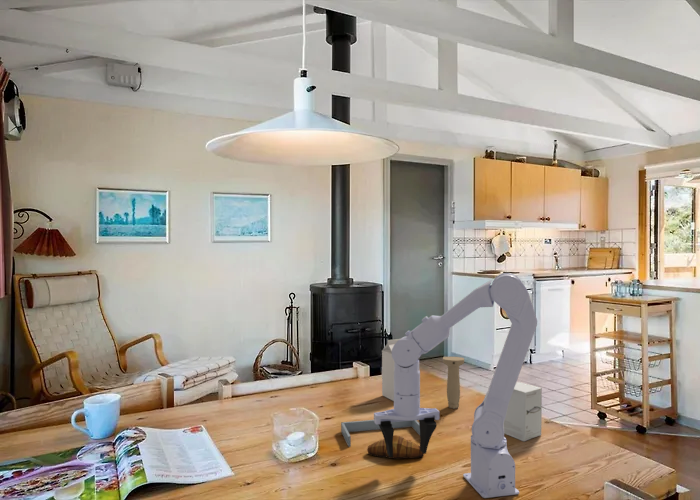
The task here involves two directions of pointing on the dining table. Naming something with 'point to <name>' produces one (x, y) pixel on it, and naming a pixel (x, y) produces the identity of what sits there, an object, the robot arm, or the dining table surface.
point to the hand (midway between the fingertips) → (406, 453)
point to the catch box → (372, 427)
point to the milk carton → (388, 370)
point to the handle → (453, 380)
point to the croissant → (396, 449)
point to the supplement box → (524, 412)
